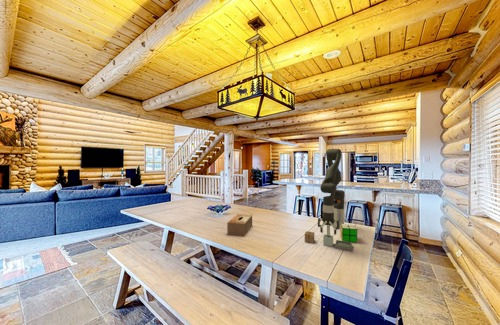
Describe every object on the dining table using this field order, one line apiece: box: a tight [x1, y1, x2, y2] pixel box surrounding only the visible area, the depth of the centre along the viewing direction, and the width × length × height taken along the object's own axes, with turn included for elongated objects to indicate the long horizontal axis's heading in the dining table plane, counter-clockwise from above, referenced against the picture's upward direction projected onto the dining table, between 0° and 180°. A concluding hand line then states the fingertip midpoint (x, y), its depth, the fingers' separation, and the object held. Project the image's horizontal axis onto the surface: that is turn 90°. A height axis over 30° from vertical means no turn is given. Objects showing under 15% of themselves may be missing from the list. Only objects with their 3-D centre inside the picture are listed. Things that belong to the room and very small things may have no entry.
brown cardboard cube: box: [304, 230, 315, 244], centre depth 150 cm, size 6×6×6 cm
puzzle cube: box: [339, 223, 358, 244], centre depth 153 cm, size 10×10×10 cm
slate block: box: [322, 233, 334, 248], centre depth 144 cm, size 6×6×6 cm
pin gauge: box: [326, 225, 331, 237], centre depth 144 cm, size 2×2×12 cm
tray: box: [334, 239, 353, 252], centre depth 140 cm, size 10×10×2 cm
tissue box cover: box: [226, 213, 253, 237], centre depth 174 cm, size 26×14×10 cm, turn 165°
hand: (328, 233), depth 144 cm, fingers open, 8 cm apart
